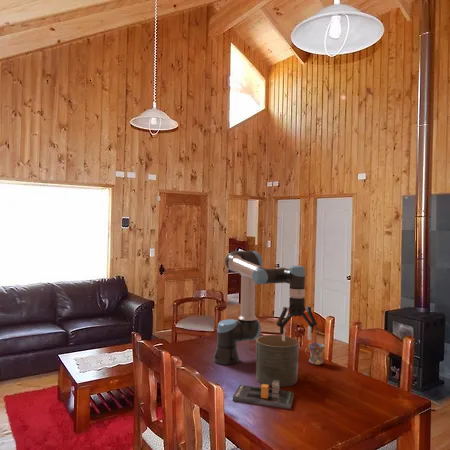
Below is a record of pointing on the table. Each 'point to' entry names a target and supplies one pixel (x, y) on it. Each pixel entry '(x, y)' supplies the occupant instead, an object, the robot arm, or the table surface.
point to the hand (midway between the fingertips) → (296, 340)
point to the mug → (315, 353)
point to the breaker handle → (264, 391)
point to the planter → (277, 360)
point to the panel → (274, 399)
